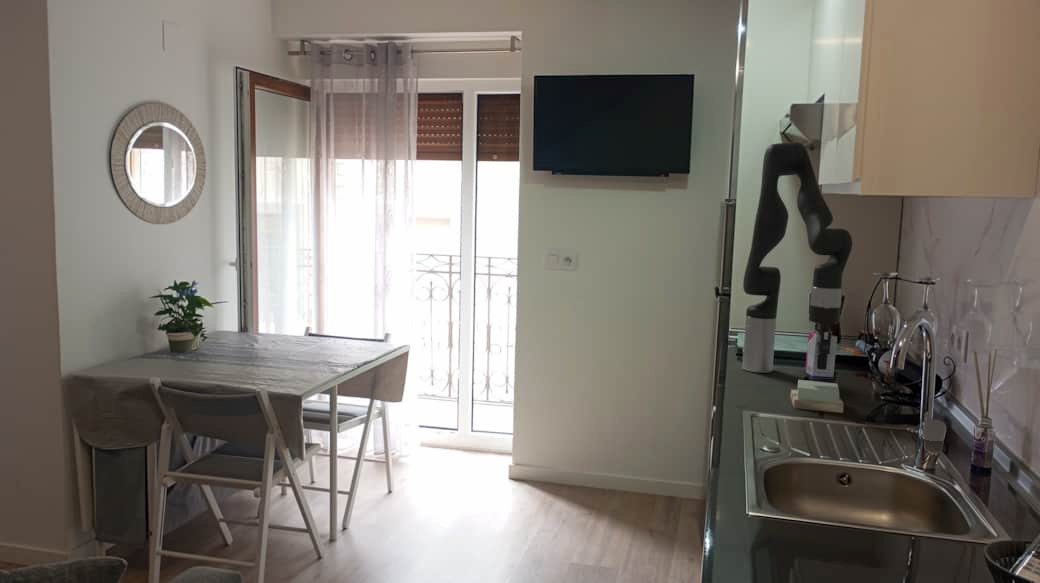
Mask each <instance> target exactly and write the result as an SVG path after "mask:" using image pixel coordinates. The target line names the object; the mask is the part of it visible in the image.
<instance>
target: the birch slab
mask: <svg viewBox="0 0 1040 583" xmlns="http://www.w3.org/2000/svg"><path fill="white" fill-rule="evenodd" d="M790 400H791V403H792V406H793V409H799V410H801V409H802V410H811V411H817V412H818V411H819V412H820V411H821V412H830V413H840V414H841V413H842V414H843V413H844V402H843V401H842V399H841V397H840V396H839V401H838V403H831V402H823V401H814V400H805V399H798V398H797V389H795V388H794V389H793V388H791V389H790Z"/></svg>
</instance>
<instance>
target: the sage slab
mask: <svg viewBox="0 0 1040 583" xmlns="http://www.w3.org/2000/svg"><path fill="white" fill-rule="evenodd" d="M796 390H797V398H798V399H805V400H814V401H823V402H831V403H838V401H839V397H840V389H839V385H838V383H833V382H825V381H814V380H805V379H804V380H803V379H798V380H797V388H796Z"/></svg>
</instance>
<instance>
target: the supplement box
mask: <svg viewBox="0 0 1040 583" xmlns="http://www.w3.org/2000/svg"><path fill="white" fill-rule="evenodd" d="M818 341H819V342H820V335H816V334H815V333H814V331H813V332H812V331H809V332H808V338H807V349H806V359H805V367H804V368H805V369H804V374H805V375H807V376H809V378H811V379H826V380H828V379H831V380H832V379H834V373H835V365H836V364H835V362H836V353H837V346H838V345H837V343H838V336H836V335H834V334H832V336H831V345H830V353H829V355H828V356H827V366H826V369H825V370H823V369H818V368H817V362H818V346H817V342H818ZM822 349H825V350H826V347H822Z"/></svg>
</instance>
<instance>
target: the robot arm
mask: <svg viewBox="0 0 1040 583" xmlns="http://www.w3.org/2000/svg"><path fill="white" fill-rule="evenodd" d="M762 162H763V163H762V174H761V185H760V194H759V200H758V206H757V210H756V216H755V219H754V225H753V231H752V232H753V234H752V239H751V240H752V241H751V245H750V246H751V247H750V252H749V256H748V259H747V264H746V267H745V272H744V274H743V275H744V276H743V281H742V282H743V284H742V286H743V287H742V288H743V291H744V293H745V294H746V295H750V296H760V297H761V296H764V297H765V296H766V297H765V299H764V300H762V301H761V302H759V303H756V304H753V305H749V306H748V307H747V308H746V311H745V313H746V314H745V326H744V342H743V352H742V353H743V354H742V367H741V368H742V370H744V371H747V372H751V373H760V374H762V373H765V374H766V373H772V372H773V364H774V353H775V343H776V342H775V341H776V340H775V339H776V326H777V314H778V313H777V312H778V304H779V296H780V288H781V280H782V278H781V271H780V269H779V268H778V267H776V266H762V265H761V264H762V263H763V261H764V259H765V258H766V257H767V256H768V254H769V253H771V251H772V250H774V249H775V248H776V246H778V245H779V243H780V242H781V241H782V240H783V239H784V237H785V235H786V231H787V227H788V221H789V212H788V209H787V206H786V205H785V203H784V201H783V199H782V198H781V196H780V193H779V190H778V183H779V179H780V177H783V176H785V177H786V176H793V175H796V177H797V178H798V179H799V180H800V187H799V191H798V194H797V198H796V199H797V200H796V204H797V205H796V206H797V209H798V210H797V211H798V212H799V214H800V216H801V219H802V220H803V222H804V224H805V227H806V234H807V243H808V247H809V248H810V250H811V251H812V252H813V253H814V254H816V255H817V256H828V259H827V261H826V262H824V263H821V264H818V265H815V267H814V270H813V277H812V279H813V280H812V289H811V291H810V292H811V293H810V303H809V314H808V320H809V321H810V322H813V323H815V325H814V330H813V332H814V333H815V334H816V335H820V342H819V341H818V342H817V346H818V362H817V368H818V369H823V370H825V369H826V366H827V356H828V355H829V353H830V345H831V336H832V335H833V330H832V329H831V327H830V325H836V324H838V323H840V319H841V317H840V316H841V306H842V284H843V283H842V282H843V272H844V269H845V268H846V265H847V262H848V259H849V257H850V254H851V251H852V247H853V238H852V235H851V233H850V232H849V231H848V230H846V229H844V228H828V227H830V226H831V225H832V223H833V222H834V217H833V214H832V212H831V210H830V208H829V206H828V204H827V202H826V200H825V199H824V196H823V195H822V192H821V190H820V188H819V184H818V181H817V178H816V174H815V171H814V167H813V164H812V162H811V158H810V155H809V153H808V151H807V148H806V146H804V144H803V143H801V142H799V141H791V142H790V141H789V142H781V143H780V142H779V143H772V144H770V145H768V146H767V148H766V149H765V152H764V156H763V161H762ZM822 347H826V350H825V349H822Z"/></svg>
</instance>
